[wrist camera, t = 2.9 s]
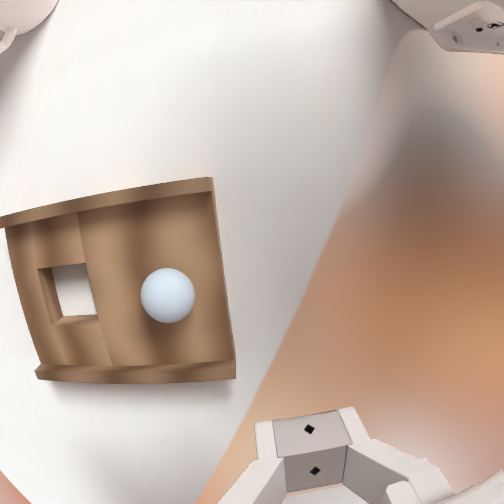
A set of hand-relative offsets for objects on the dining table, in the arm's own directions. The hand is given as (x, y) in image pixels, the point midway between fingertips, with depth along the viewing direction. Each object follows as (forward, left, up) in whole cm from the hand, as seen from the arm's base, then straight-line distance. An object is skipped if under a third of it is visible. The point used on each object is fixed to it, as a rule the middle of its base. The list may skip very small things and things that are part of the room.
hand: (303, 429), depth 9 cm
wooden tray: (+13, 0, -19) cm, 23 cm away
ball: (+7, 0, -17) cm, 18 cm away
